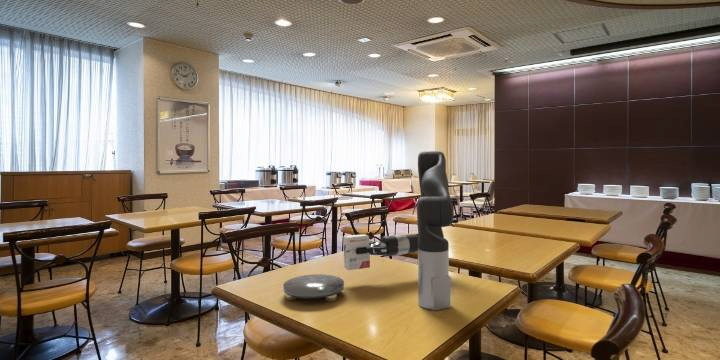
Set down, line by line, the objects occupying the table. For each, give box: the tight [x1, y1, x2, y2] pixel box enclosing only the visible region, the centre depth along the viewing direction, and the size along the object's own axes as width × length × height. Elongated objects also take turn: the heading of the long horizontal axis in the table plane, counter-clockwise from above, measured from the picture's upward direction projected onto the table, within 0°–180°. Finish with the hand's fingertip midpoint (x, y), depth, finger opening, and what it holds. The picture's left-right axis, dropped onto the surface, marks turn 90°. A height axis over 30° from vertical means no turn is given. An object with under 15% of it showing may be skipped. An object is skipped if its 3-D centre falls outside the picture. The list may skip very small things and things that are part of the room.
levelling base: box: [282, 273, 345, 303], centre depth 127 cm, size 20×20×5 cm
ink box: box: [342, 233, 371, 271], centre depth 139 cm, size 9×5×12 cm, turn 111°
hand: (353, 249), depth 138 cm, fingers closed on ink box, 5 cm apart
